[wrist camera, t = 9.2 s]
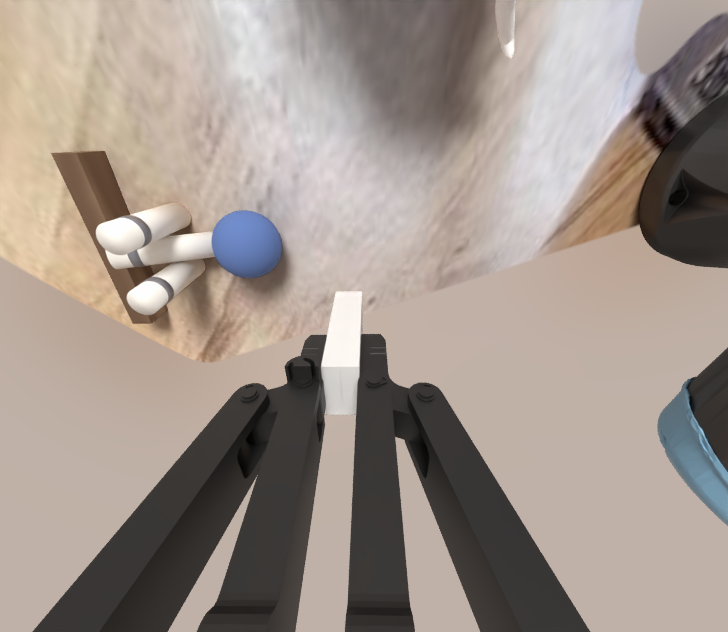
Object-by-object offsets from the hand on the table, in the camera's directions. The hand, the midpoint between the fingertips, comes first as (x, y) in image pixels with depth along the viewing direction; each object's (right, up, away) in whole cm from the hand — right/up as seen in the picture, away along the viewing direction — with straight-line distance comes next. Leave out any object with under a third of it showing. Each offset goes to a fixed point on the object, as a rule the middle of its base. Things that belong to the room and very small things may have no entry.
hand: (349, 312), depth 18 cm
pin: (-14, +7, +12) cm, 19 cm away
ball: (-10, +6, +10) cm, 15 cm away
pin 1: (-17, +10, +11) cm, 23 cm away
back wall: (-23, +7, +13) cm, 27 cm away
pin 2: (-17, +5, +14) cm, 23 cm away
